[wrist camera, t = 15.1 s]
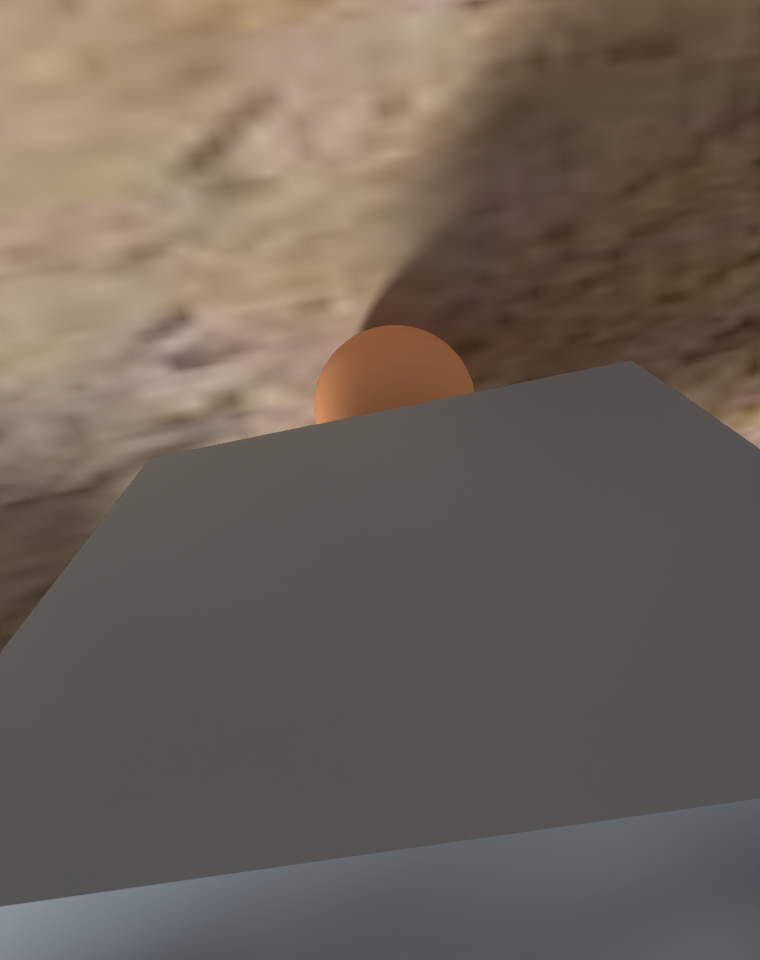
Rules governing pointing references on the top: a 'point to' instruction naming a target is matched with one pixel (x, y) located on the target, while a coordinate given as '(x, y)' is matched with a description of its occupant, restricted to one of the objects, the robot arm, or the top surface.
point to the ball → (388, 373)
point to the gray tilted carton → (402, 694)
